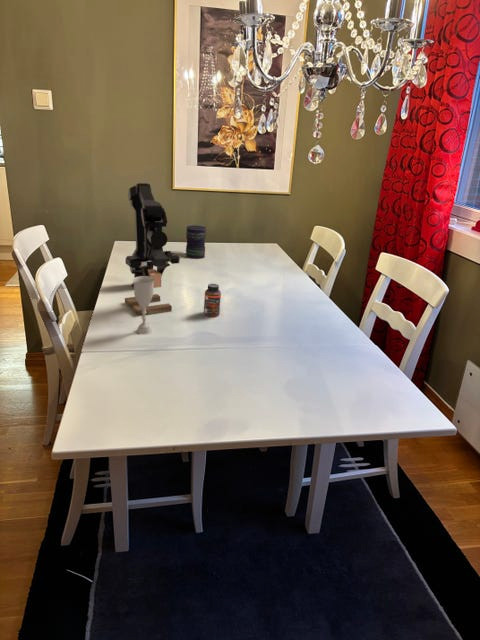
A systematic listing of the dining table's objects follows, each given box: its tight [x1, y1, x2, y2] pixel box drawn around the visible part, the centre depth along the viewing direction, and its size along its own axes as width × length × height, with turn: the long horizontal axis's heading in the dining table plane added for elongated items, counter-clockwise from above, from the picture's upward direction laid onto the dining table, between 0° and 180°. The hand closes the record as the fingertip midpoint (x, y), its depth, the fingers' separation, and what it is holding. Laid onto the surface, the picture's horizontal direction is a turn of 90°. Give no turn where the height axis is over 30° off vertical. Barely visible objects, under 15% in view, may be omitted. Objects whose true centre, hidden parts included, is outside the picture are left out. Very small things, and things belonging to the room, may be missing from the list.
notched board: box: [124, 293, 173, 317], centre depth 182 cm, size 14×13×2 cm
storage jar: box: [185, 224, 207, 260], centre depth 249 cm, size 10×10×15 cm
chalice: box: [132, 276, 155, 335], centre depth 159 cm, size 7×7×18 cm
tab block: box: [148, 268, 162, 289], centre depth 179 cm, size 6×4×5 cm, turn 31°
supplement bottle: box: [203, 283, 222, 318], centre depth 178 cm, size 6×6×11 cm
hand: (152, 282), depth 180 cm, fingers closed on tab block, 4 cm apart
